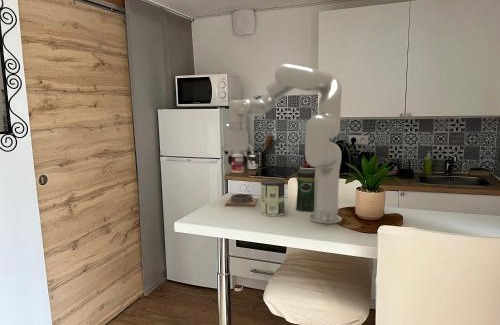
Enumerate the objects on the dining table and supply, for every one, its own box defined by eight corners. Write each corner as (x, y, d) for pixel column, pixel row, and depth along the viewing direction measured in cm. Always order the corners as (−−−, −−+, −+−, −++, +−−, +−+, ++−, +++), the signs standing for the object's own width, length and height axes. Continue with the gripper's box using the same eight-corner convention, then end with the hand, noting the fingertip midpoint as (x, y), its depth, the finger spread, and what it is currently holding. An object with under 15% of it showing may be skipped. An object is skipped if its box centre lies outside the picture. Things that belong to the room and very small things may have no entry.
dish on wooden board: (254, 206, 171) (254, 199, 171) (225, 205, 173) (225, 198, 173) (257, 200, 185) (257, 193, 185) (230, 199, 187) (230, 192, 186)
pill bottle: (230, 171, 177) (230, 148, 176) (243, 171, 178) (243, 148, 177) (231, 173, 171) (231, 149, 170) (244, 172, 172) (244, 149, 171)
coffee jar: (318, 208, 169) (319, 168, 167) (316, 212, 161) (317, 170, 159) (297, 206, 172) (298, 167, 170) (294, 210, 164) (295, 169, 162)
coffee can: (277, 209, 166) (278, 178, 165) (288, 215, 157) (289, 182, 155) (257, 211, 162) (257, 180, 161) (266, 217, 153) (266, 183, 151)
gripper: (217, 126, 169) (218, 165, 171) (255, 126, 168) (255, 165, 170) (220, 126, 177) (221, 163, 179) (256, 126, 175) (256, 164, 177)
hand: (237, 164), depth 174 cm, fingers closed on pill bottle, 6 cm apart
